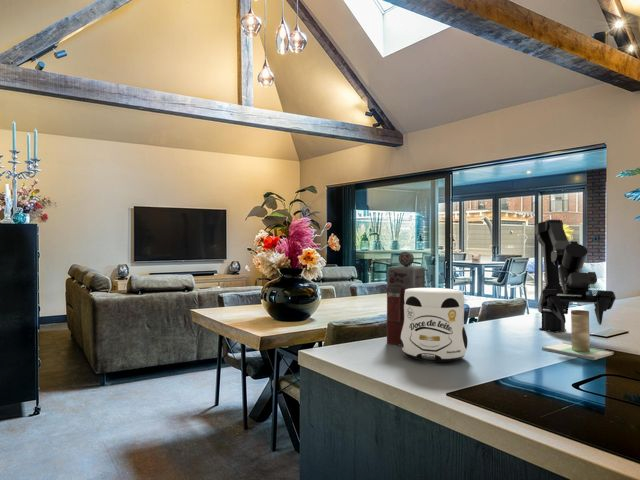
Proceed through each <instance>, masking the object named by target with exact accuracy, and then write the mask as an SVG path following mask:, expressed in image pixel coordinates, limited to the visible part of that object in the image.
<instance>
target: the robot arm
mask: <svg viewBox="0 0 640 480" xmlns="http://www.w3.org/2000/svg"><path fill="white" fill-rule="evenodd" d="M534 227H535V228H534V234H535V235H536V239H537V242H538V243H539V244H540V246H541V247H542V255H543V269H544V281H545V286H544V288H543V289H542V290H541V293H540V296H539V300H538V304H537V309H538V310H537V312H539V313H540V314H541V327H539V328H538V330H541V331H546V332H550V333H551V332H552V333H561V332H565V331H567V329H566V322H567V321H566V316H565V315H567V314H569V307H570V303H573V304H575V303H576V304H577V303H578V304H579V303H581V304H593V306H594V307H595V308H594V313H595V317H596V321H597V323H598V325H599V326H601V325H602V323H603V317H604V312H607V310H609V311H610V310H611V309H612V307H613V305H614V304H615V300H616V298H617V297H616V294H615V292H614V291H612V290H596V291H597V292H596V294H595V295H587V293H589V290H590V287H589V286H590V285H595V284H596V283H598V276H597V273H596V272H595V271H588V272H581V269H583V268H584V264H585V261H586V257H587V254H588V248H587V247H585V246H584V245H583V244H580V243H578V241H577V240H576V241H574V240H573V241H571V240H570V241H569V239H568V237H567V234H566V232H565V229H564V222H563V219H560V218H559V219H558V218H557V219H556V218H555V219H547V220H545V221H541V222H540V221H539V222H538V223H537V224H536V225H535V226H534Z"/></svg>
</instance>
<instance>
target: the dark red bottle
mask: <svg viewBox="0 0 640 480" xmlns="http://www.w3.org/2000/svg"><path fill="white" fill-rule="evenodd" d="M414 260H415V257H414V255H413V253H412V252H411V251H402V252H400V253H399V255H398V262H399V264H400V265H394V266H389V267H387V270H386V344H388V345H389V344H390V345H395V346H396V345H397V346H401V332H402V328H403V325H404V304H405V302H404V295H405V290H406V289H410V288H426V268H425V266H421V265H420V266H417V265H416V266H415V265H414V266H413V265H412V264H413V262H414Z"/></svg>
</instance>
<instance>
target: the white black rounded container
mask: <svg viewBox="0 0 640 480" xmlns="http://www.w3.org/2000/svg"><path fill="white" fill-rule="evenodd" d="M404 302H405V304H404V325H403V328H402V332H401V345H400V346H401V349H402V352H403V353H404V354H405V355H406V356H408V357H410V358H413V359H416V360H419V361H425V362H434V363H445V362H447V363H448V362H453V361H457V360H460V359H463V358H464V357H465V356H466V353H467V348H468V335H467V332H466V328H465V320H464V319H465V306H464V305H465V298H464V291H463V290H460V289H453V288H444V287H425V288H410V289H406V290H405V295H404Z"/></svg>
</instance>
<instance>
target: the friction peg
mask: <svg viewBox="0 0 640 480" xmlns="http://www.w3.org/2000/svg"><path fill="white" fill-rule="evenodd" d="M570 323H571V325H570V327H571V344H572V350H573V351H577V352H590V347H591V345H590V343H591V342H590V340H591V338H590V337H591V336H590V333H591V332H590V311H589V310H582V309H581V310H580V309H573V310H572V309H571V310H570Z"/></svg>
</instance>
